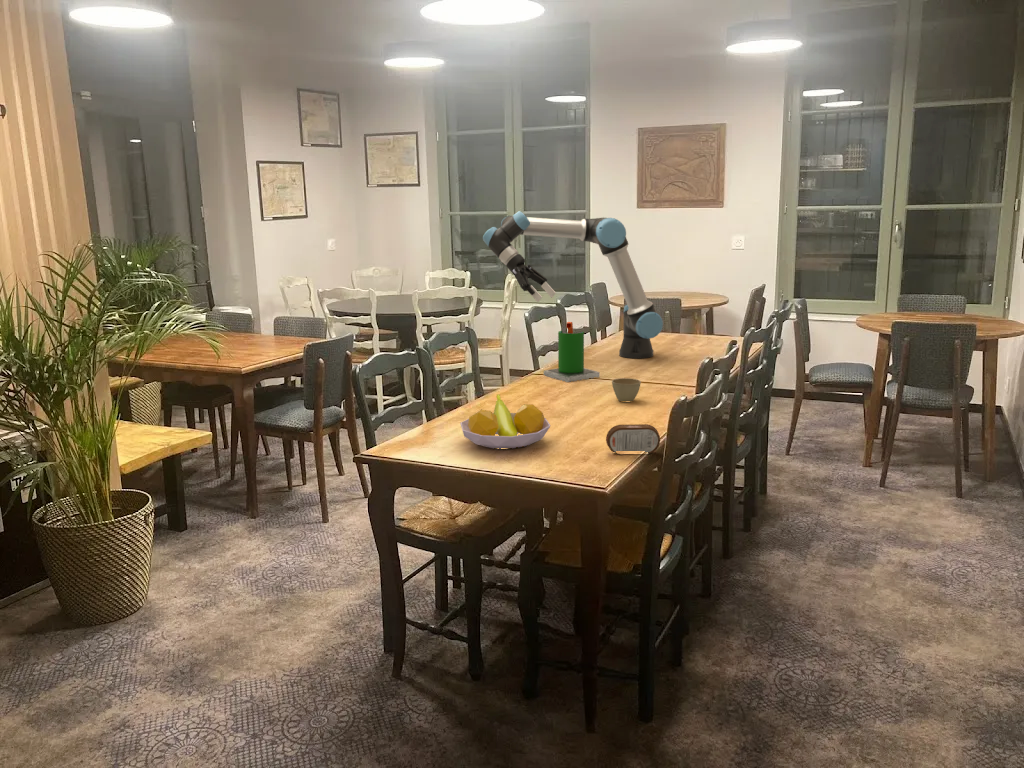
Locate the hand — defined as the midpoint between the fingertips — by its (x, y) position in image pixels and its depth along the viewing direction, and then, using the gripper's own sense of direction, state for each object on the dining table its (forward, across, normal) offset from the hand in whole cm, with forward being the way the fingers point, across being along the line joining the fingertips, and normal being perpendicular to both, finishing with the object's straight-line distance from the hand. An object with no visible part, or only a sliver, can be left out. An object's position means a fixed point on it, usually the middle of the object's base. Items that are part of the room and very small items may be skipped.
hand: (547, 297), depth 337 cm
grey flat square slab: (+30, +4, -14) cm, 33 cm away
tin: (+69, +91, +25) cm, 117 cm away
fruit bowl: (+42, +95, -1) cm, 104 cm away
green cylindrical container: (+29, +4, -12) cm, 31 cm away
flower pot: (+54, +34, +10) cm, 64 cm away
